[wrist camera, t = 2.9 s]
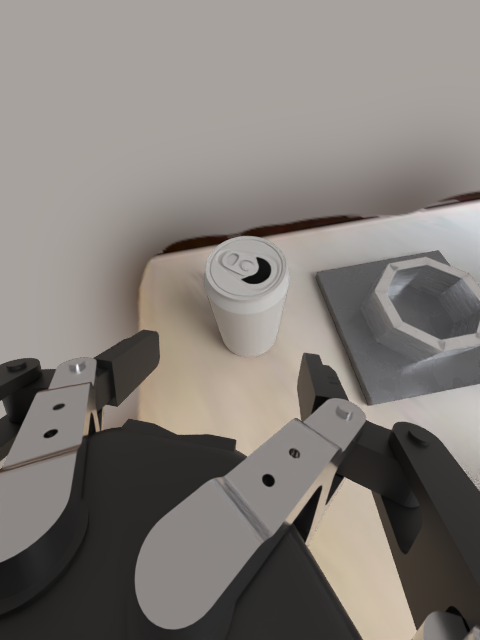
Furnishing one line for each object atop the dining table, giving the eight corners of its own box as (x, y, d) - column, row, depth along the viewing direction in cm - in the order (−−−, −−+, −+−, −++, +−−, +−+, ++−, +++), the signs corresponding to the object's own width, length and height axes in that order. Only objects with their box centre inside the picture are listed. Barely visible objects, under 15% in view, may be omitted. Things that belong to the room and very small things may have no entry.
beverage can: (260, 369, 24) (266, 320, 13) (211, 342, 26) (181, 280, 15) (285, 322, 26) (307, 249, 16) (238, 301, 28) (230, 220, 17)
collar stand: (432, 255, 30) (461, 228, 26) (522, 375, 22) (580, 362, 18) (315, 277, 29) (325, 252, 25) (368, 405, 22) (394, 400, 18)
